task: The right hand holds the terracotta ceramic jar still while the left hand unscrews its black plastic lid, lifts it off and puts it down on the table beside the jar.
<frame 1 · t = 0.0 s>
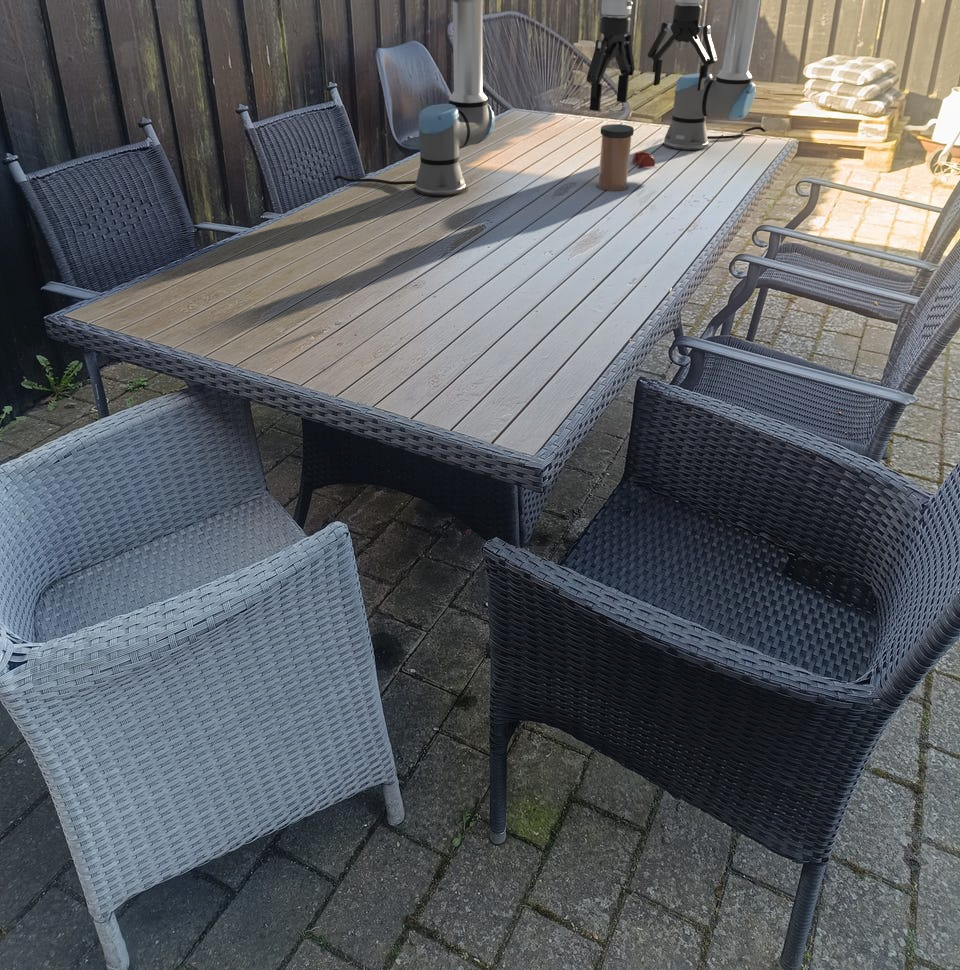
left hand: (608, 106, 226), 28 cm above the table, tool pointing down, fingers open, 13 cm apart
right hand: (678, 87, 246), 28 cm above the table, tool pointing down, fingers open, 13 cm apart
lid: (617, 129, 251), point 17 cm above the table, screwed on, not yet turned
jar: (612, 186, 261), on the table
red irregular lump: (643, 165, 281), on the table
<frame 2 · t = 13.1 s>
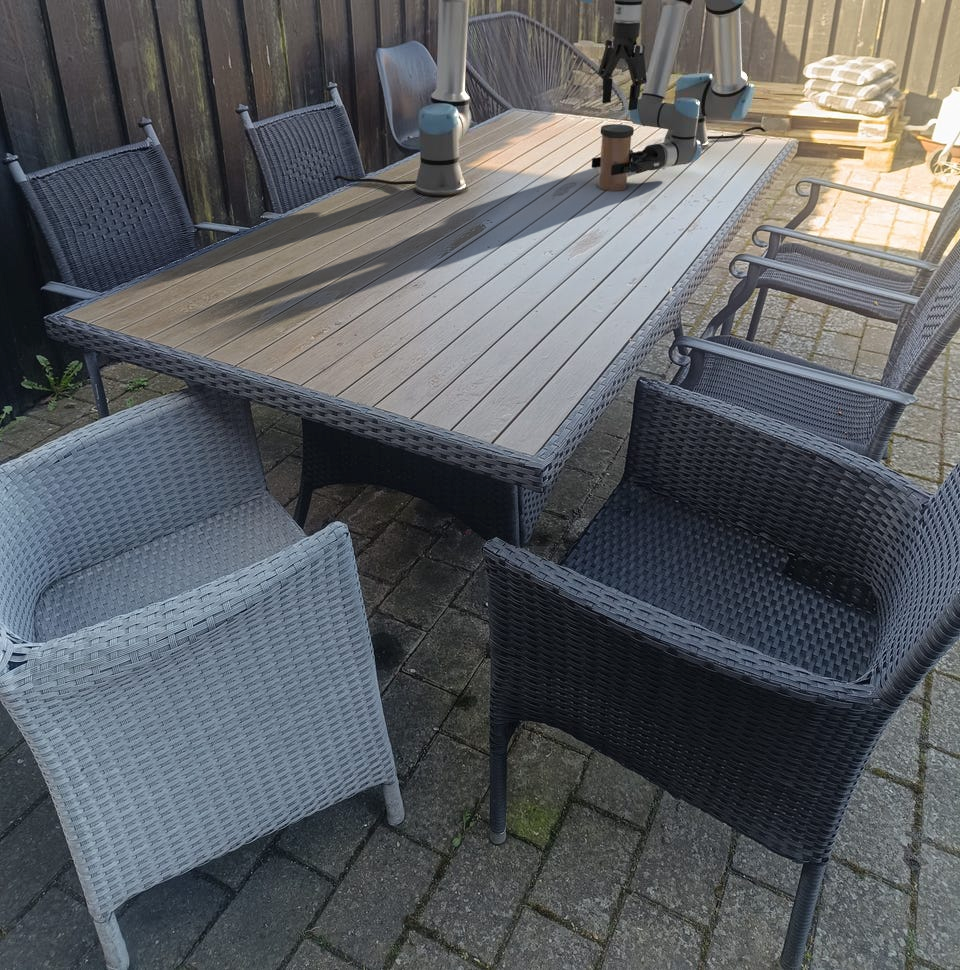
left hand: (619, 106, 248), 23 cm above the table, tool pointing down, fingers open, 11 cm apart
right hand: (602, 166, 255), 7 cm above the table, tool horizontal, fingers closed on jar, 9 cm apart
jar: (612, 186, 261), on the table, touching right hand
everything else where it was.
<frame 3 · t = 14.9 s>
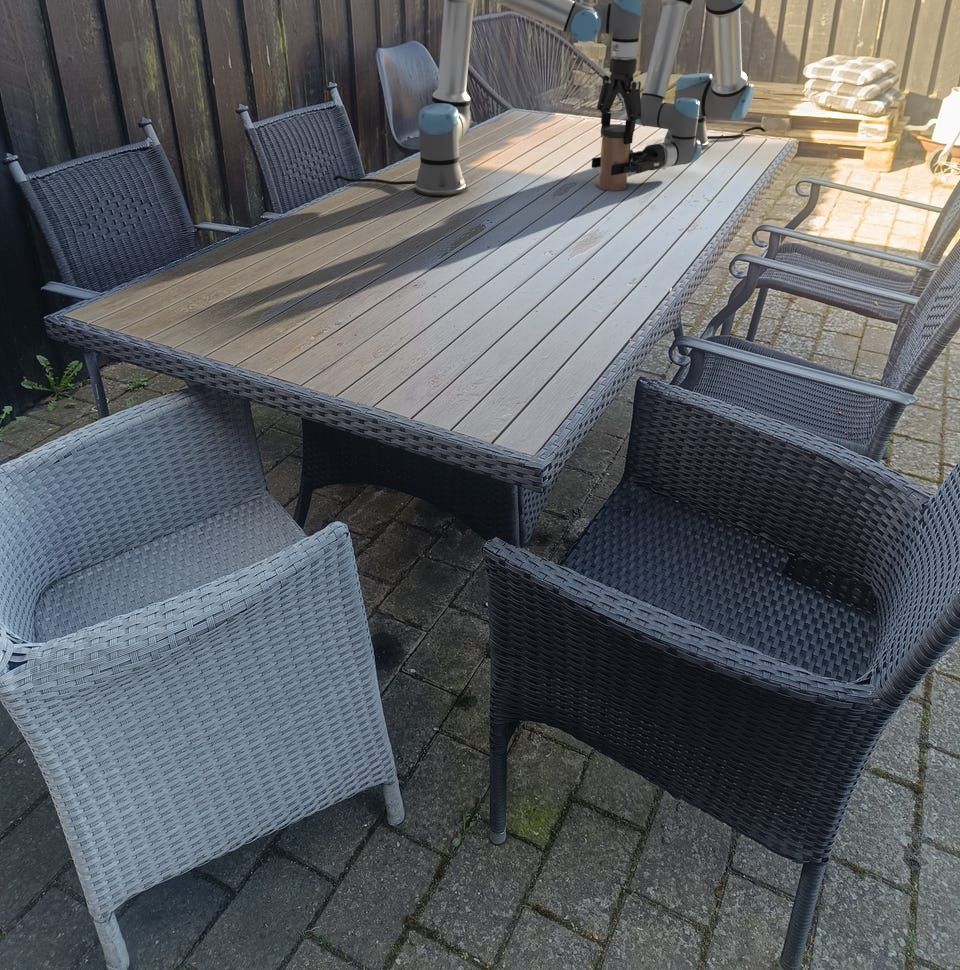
left hand: (616, 139, 253), 14 cm above the table, tool pointing down, fingers closed on lid, 10 cm apart
right hand: (602, 166, 255), 7 cm above the table, tool horizontal, fingers closed on jar, 9 cm apart
lid: (617, 129, 251), point 17 cm above the table, screwed on, not yet turned, touching left hand
jar: (612, 186, 261), on the table, touching right hand
everything else where it was.
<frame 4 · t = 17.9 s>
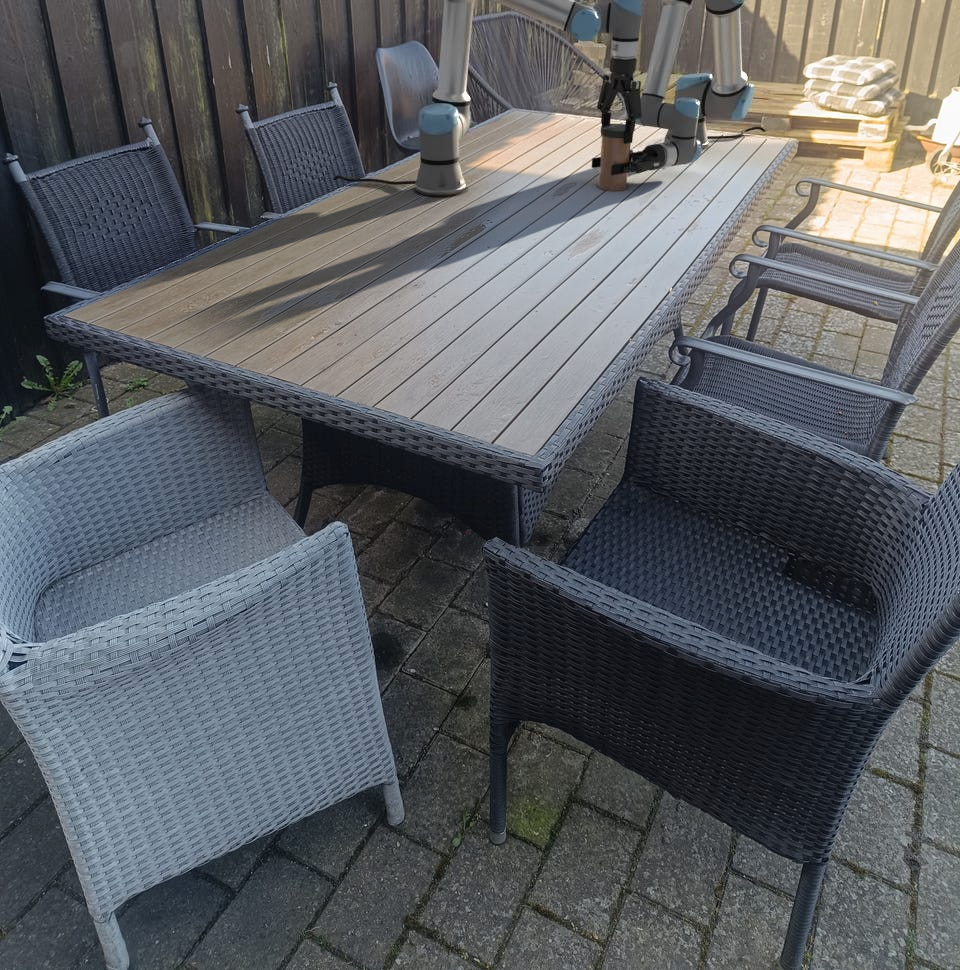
left hand: (616, 139, 253), 14 cm above the table, tool pointing down, fingers closed on lid, 10 cm apart
right hand: (602, 166, 255), 7 cm above the table, tool horizontal, fingers closed on jar, 9 cm apart
lid: (617, 128, 251), point 17 cm above the table, turned 73° so far, risen 0.2 cm, still on its thread, touching left hand
jar: (612, 186, 261), on the table, touching right hand
everything else where it was.
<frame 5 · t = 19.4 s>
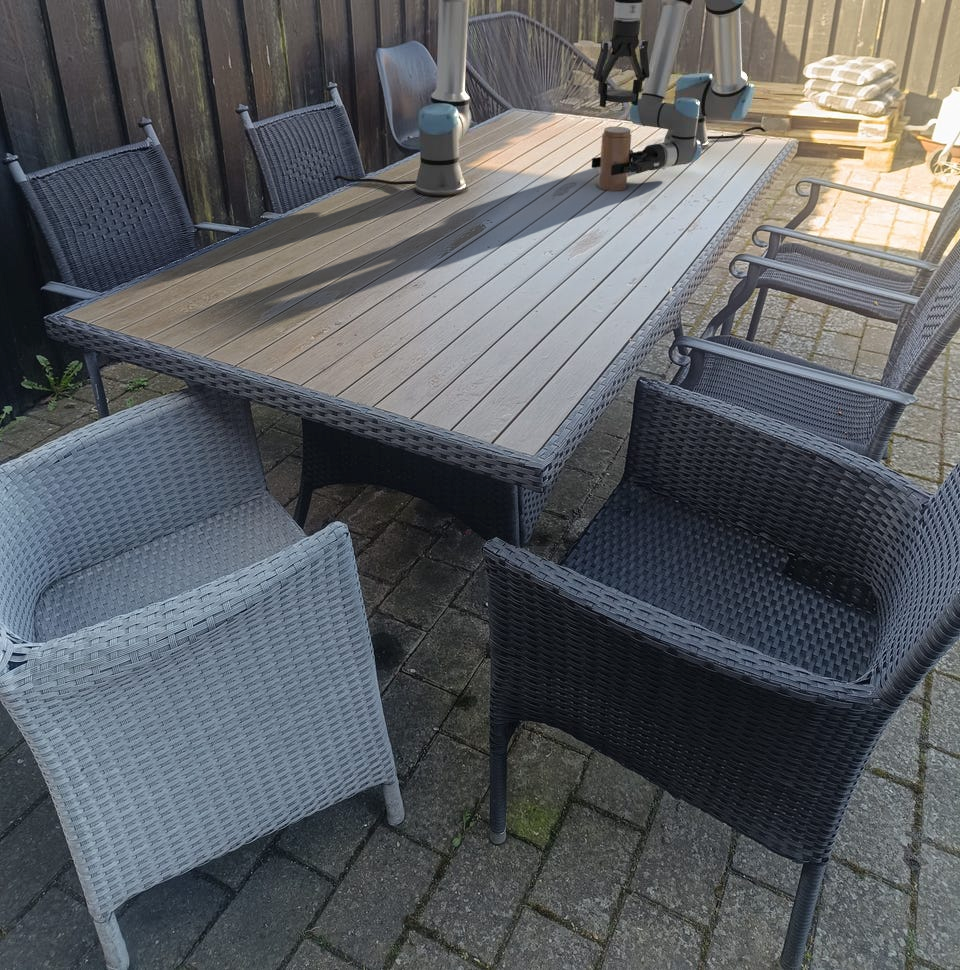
left hand: (618, 105, 248), 23 cm above the table, tool pointing down, fingers closed on lid, 10 cm apart
right hand: (602, 166, 255), 7 cm above the table, tool horizontal, fingers closed on jar, 9 cm apart
lid: (619, 94, 246), point 26 cm above the table, off its thread, touching left hand
jar: (612, 186, 261), on the table, touching right hand
everything else where it was.
when the left hand's fingers open (0 cm above the table, at t = 24.8 s): lid drops 2 cm, point 1 cm above the table.
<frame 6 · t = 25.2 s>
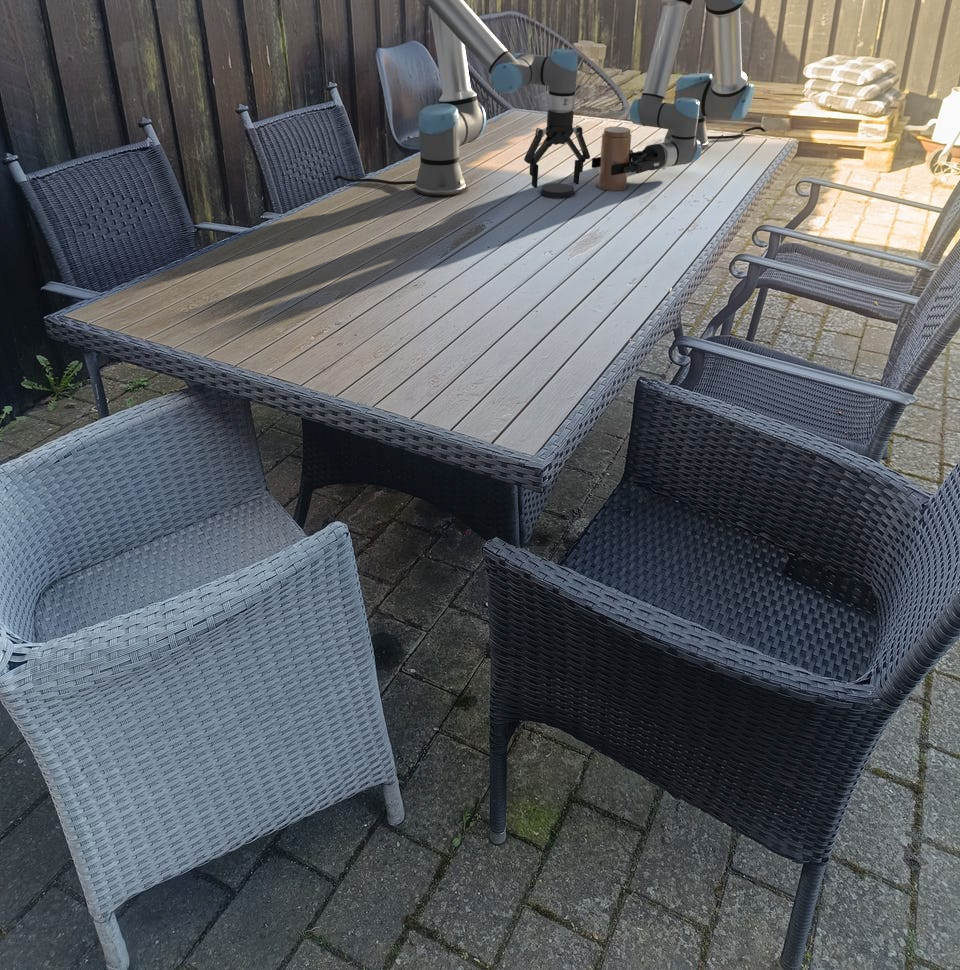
left hand: (555, 185, 254), 2 cm above the table, tool pointing down, fingers open, 13 cm apart
right hand: (602, 166, 255), 7 cm above the table, tool horizontal, fingers closed on jar, 9 cm apart
lid: (557, 188, 255), point 1 cm above the table, off its thread
jar: (612, 186, 261), on the table, touching right hand
everything else where it was.
when the right hand's fingers open (7 cm above the table, at t = 25.7 s): jar stays where it is, on the table.
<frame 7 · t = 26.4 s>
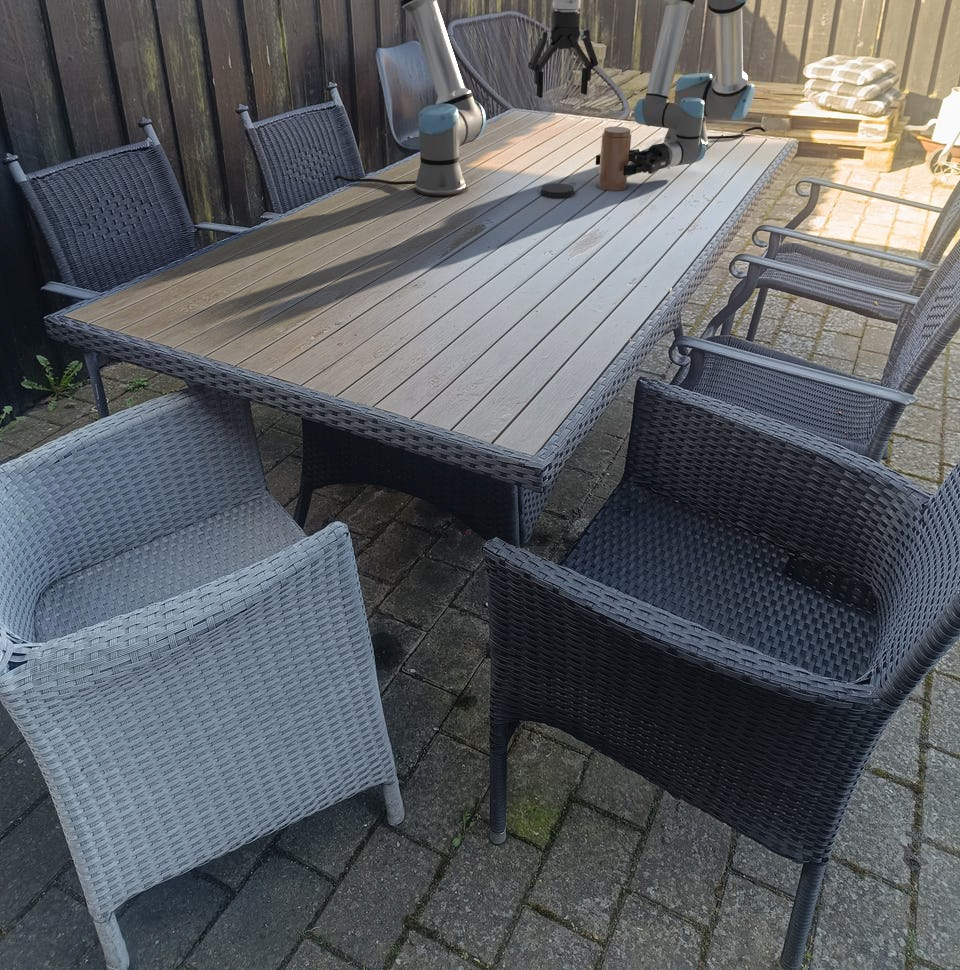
left hand: (561, 95, 240), 27 cm above the table, tool pointing down, fingers open, 13 cm apart
right hand: (610, 165, 257), 7 cm above the table, tool horizontal, fingers open, 13 cm apart
jar: (612, 186, 261), on the table
everything else where it was.
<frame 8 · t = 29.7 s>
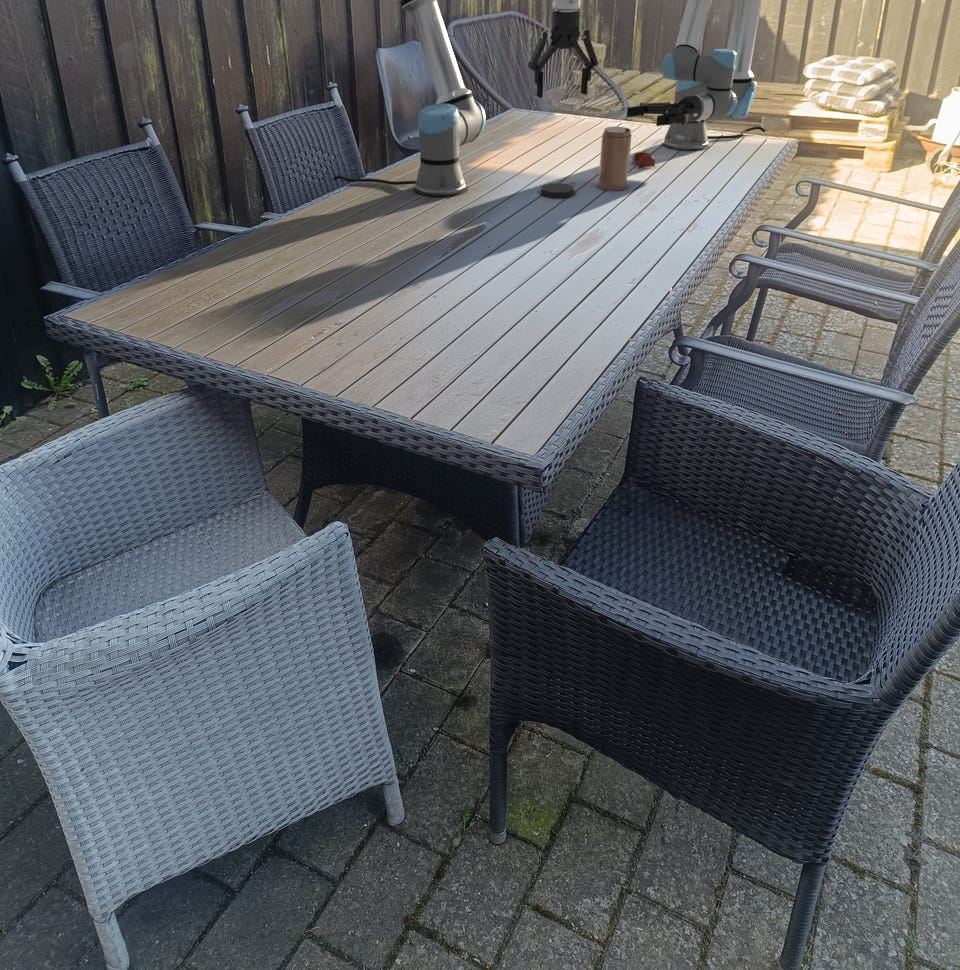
left hand: (561, 95, 240), 27 cm above the table, tool pointing down, fingers open, 13 cm apart
right hand: (642, 116, 254), 19 cm above the table, tool horizontal, fingers open, 13 cm apart
nothing on the table moved.
at the end: lid came off its thread; lid point 1.3 cm above the table; the left hand is holding nothing; the right hand is holding nothing; jar tilted 0°; jar moved 0.0 cm from its start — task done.
